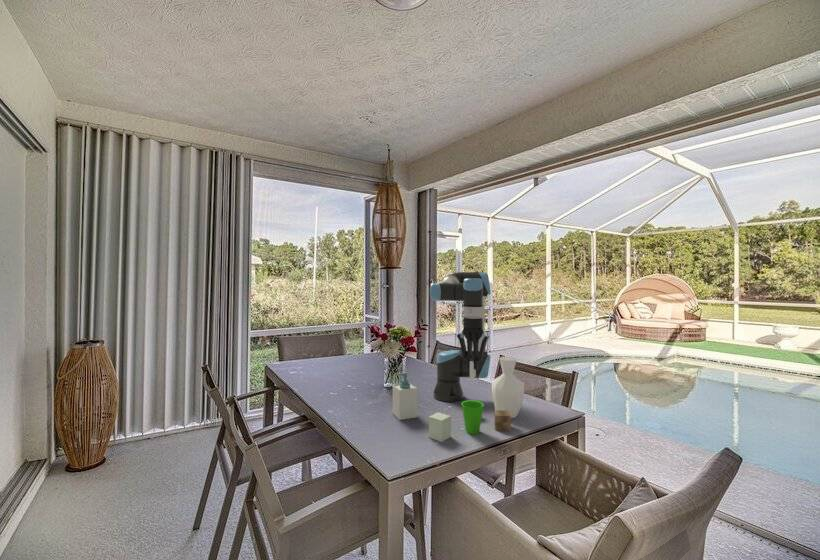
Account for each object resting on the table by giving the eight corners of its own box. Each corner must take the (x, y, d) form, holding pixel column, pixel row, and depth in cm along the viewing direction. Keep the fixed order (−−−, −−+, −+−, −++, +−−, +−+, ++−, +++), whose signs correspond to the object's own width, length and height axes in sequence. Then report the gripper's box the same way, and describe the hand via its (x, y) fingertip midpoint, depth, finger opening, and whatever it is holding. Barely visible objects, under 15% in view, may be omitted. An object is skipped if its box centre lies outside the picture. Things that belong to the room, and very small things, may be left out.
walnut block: (495, 430, 147) (495, 415, 146) (494, 424, 152) (494, 410, 152) (510, 431, 145) (510, 416, 145) (509, 425, 151) (509, 411, 151)
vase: (506, 423, 153) (506, 363, 153) (484, 412, 166) (484, 357, 166) (531, 417, 160) (531, 360, 160) (508, 407, 172) (508, 354, 172)
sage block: (428, 437, 140) (428, 416, 140) (438, 432, 144) (438, 412, 144) (441, 442, 136) (441, 420, 136) (450, 436, 140) (450, 415, 140)
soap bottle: (392, 413, 164) (392, 371, 164) (410, 410, 168) (410, 369, 168) (399, 420, 156) (399, 375, 156) (417, 417, 160) (417, 373, 160)
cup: (458, 427, 149) (458, 400, 149) (480, 426, 150) (480, 399, 150) (463, 437, 140) (464, 408, 140) (487, 436, 141) (487, 407, 141)
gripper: (453, 317, 145) (453, 377, 145) (485, 319, 138) (485, 381, 138) (461, 315, 151) (461, 373, 151) (492, 317, 145) (491, 377, 144)
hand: (472, 377), depth 145 cm, fingers closed
